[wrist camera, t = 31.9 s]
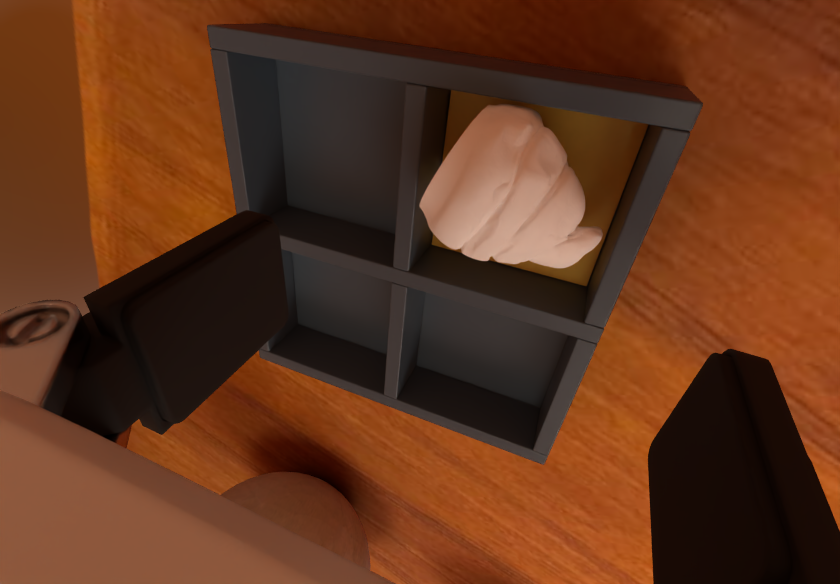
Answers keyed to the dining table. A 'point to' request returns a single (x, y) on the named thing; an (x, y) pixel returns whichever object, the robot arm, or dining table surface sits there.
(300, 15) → the dining table surface
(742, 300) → the dining table surface
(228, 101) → the grid
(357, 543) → the decorative sphere
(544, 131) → the garlic bulb
